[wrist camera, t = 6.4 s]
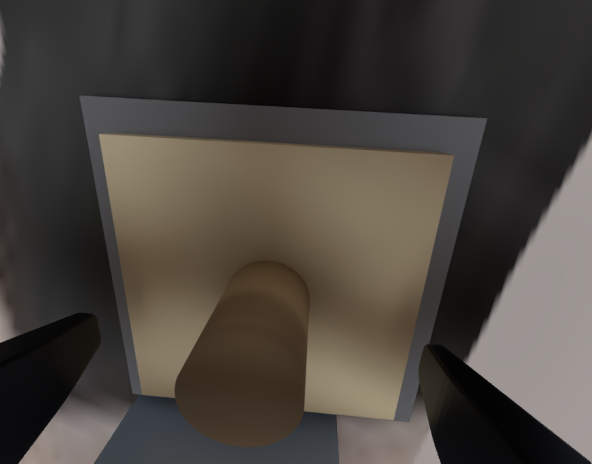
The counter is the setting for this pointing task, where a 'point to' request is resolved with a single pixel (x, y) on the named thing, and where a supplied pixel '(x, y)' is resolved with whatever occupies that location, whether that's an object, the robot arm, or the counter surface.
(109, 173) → the lid
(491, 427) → the robot arm
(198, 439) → the dish
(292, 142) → the mat
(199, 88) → the counter surface
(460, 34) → the counter surface
